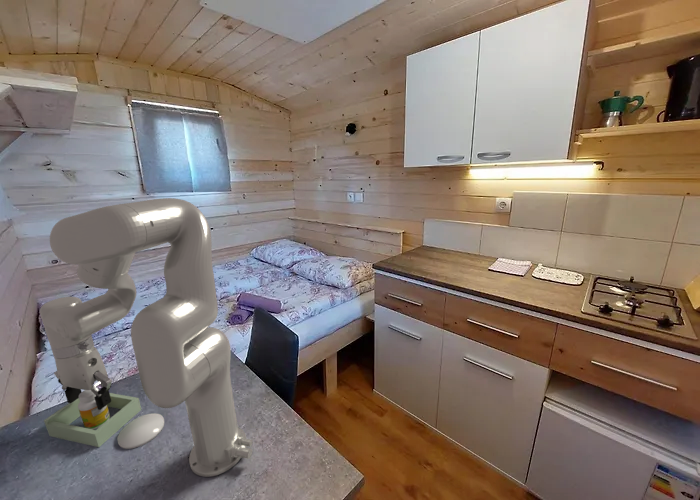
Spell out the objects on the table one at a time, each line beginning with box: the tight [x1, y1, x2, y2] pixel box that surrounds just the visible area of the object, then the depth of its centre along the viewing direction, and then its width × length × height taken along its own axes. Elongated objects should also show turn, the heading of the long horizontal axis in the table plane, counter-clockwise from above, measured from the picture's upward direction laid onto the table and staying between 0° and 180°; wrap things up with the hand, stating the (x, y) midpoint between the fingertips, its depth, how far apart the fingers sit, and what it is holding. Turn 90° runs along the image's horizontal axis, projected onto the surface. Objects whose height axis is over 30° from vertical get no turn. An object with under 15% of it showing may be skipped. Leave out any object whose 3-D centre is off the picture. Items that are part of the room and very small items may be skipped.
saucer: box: [117, 413, 165, 450], centre depth 78 cm, size 10×10×1 cm
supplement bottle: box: [78, 386, 111, 430], centre depth 80 cm, size 5×5×10 cm
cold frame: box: [43, 392, 142, 448], centre depth 80 cm, size 16×12×5 cm
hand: (90, 402), depth 79 cm, fingers open, 9 cm apart
